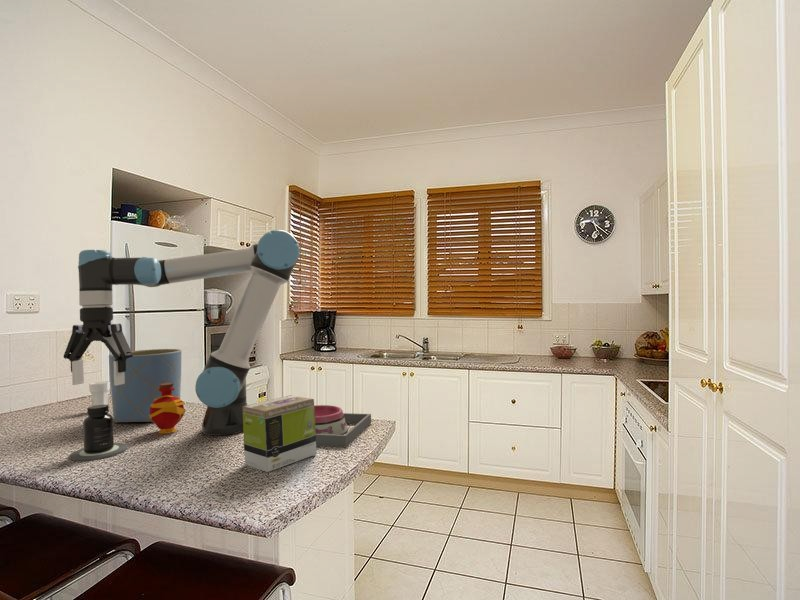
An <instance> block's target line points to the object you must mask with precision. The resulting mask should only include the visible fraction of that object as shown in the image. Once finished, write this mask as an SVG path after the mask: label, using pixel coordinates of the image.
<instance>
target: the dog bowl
mask: <svg viewBox="0 0 800 600" xmlns="http://www.w3.org/2000/svg"><path fill="white" fill-rule="evenodd" d="M314 412H315V431H316V434H334V435H345V434H346V433H347V432H348V431H349V428H348V425H347V423H346V422H345V418H344V414H343V413H344V412H343V410H342V407H340V406H336V405H328V404H320V405H319V404H316V405H315V404H314Z"/></svg>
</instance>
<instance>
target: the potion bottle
mask: <svg viewBox="0 0 800 600" xmlns="http://www.w3.org/2000/svg"><path fill="white" fill-rule="evenodd" d="M173 384H174V383H163V384H159V385H160V388H159V391H160V392H162V396H161V397H159V398H156V399H154V402H153V403H152V404H151V407H150V412H149V413H150V415H149V416H150V419H151V420H152V421H153V422H152V423H154V424H155V426H156V427H157V428H158V429H159V431H158V434H160V435H161V434H163V435H164V434H171V433H174V432H176V431H177V429H176V428H175V426H177V425H178V423H180V422H181V420H182V419H183V417H184V415H185V413H186V408H185V406H184V405H185V401H183V400H182V399H181V397H180V398H179V397H175V396H173V395H172V390H174V387H173Z"/></svg>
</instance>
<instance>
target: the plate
mask: <svg viewBox="0 0 800 600" xmlns="http://www.w3.org/2000/svg"><path fill="white" fill-rule="evenodd" d="M127 450H128V445H127V444H126V443H122V442H114V447H113V448H112V449H111V450H109V451H106V452H102V453H97V454H87V453H85V452H84V447H83V448H79V449H78V450H77V449H76V450H75V451H73V452H71V453H70V454H69V459H70V460H71V461H74V460H75V462H86V461H87V462H89V461H90V462H91V461H97V460H101V459H102V460H103V459H107V458H110V457H114V456H117V455H120V454H122V453H125V452H126V451H127Z"/></svg>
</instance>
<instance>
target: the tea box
mask: <svg viewBox="0 0 800 600" xmlns="http://www.w3.org/2000/svg"><path fill="white" fill-rule="evenodd" d="M314 405H315V400H314V398H310V397H303V396H302V397H301V396H295V395H292V394H291V395H285V396H281V397H278V398H274V399H269V400H265V401H260V402H256V403H252V404H251V403H250V404H247V406H243V451H244V454H243V456H244V464H245V465H246V466H249V467H251V468H254V469H256V470H260V471H263V472H265V473H270V472H272V471H275V470H277V469H280V468H283V467H285V466H288V465H290V464H294V463H296V462H299V461H301V460H305V459H307V458H311V457H312V456H316V455H317V453H318V452H317V446H316V431H315V412H314Z"/></svg>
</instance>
